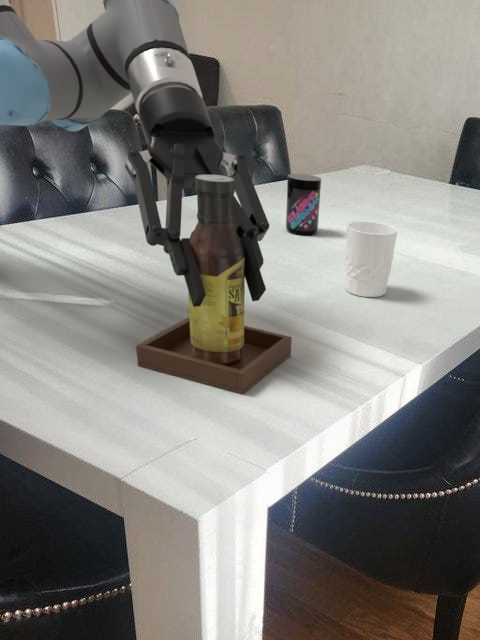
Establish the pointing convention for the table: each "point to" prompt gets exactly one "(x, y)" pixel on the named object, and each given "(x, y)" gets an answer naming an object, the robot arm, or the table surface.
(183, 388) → the table surface
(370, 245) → the white cup
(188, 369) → the tray
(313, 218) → the supplement container
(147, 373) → the table surface
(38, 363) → the table surface
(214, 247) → the sauce bottle
